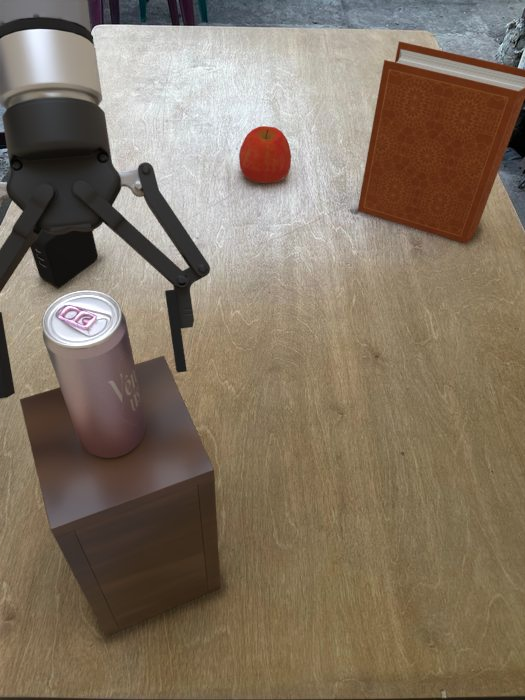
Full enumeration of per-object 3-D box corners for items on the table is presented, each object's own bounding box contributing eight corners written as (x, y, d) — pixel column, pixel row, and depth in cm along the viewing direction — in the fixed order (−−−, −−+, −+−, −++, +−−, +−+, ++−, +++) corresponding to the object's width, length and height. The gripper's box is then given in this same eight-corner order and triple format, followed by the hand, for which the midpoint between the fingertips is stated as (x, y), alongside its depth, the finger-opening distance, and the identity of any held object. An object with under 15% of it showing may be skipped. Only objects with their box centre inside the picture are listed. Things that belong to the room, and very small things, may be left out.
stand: (77, 529, 79) (19, 398, 58) (182, 490, 83) (163, 355, 62) (106, 636, 71) (50, 529, 50) (220, 587, 75) (214, 469, 54)
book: (357, 210, 125) (384, 60, 102) (370, 189, 130) (399, 41, 107) (470, 245, 119) (525, 93, 96) (480, 221, 124) (534, 71, 101)
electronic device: (40, 279, 109) (25, 234, 101) (82, 250, 114) (71, 204, 107) (57, 289, 107) (43, 244, 100) (98, 259, 113) (89, 213, 105)
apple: (250, 195, 127) (251, 148, 119) (230, 167, 133) (230, 121, 125) (298, 184, 130) (302, 137, 122) (276, 157, 136) (278, 111, 128)
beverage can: (105, 396, 58) (73, 278, 47) (159, 420, 57) (140, 304, 46) (65, 444, 55) (20, 329, 44) (122, 472, 53) (91, 360, 42)
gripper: (210, 111, 53) (243, 356, 55) (-102, 136, 49) (-56, 400, 51) (220, 80, 46) (257, 364, 48) (-147, 106, 42) (-91, 415, 44)
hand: (95, 383), depth 49 cm, fingers open, 13 cm apart
